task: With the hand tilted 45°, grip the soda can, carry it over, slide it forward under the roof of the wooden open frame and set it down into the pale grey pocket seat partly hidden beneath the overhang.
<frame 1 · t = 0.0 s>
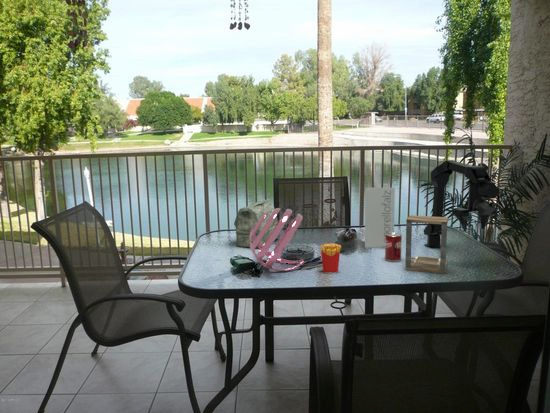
hand: (473, 230, 199), 15 cm above the table, tool pointing down, fingers open, 9 cm apart
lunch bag: (257, 242, 247), on the table
white box: (379, 246, 231), on the table
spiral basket: (277, 267, 204), on the table
wooden open frame: (427, 264, 200), on the table
french fries: (331, 271, 196), on the table
soda can: (393, 260, 209), on the table
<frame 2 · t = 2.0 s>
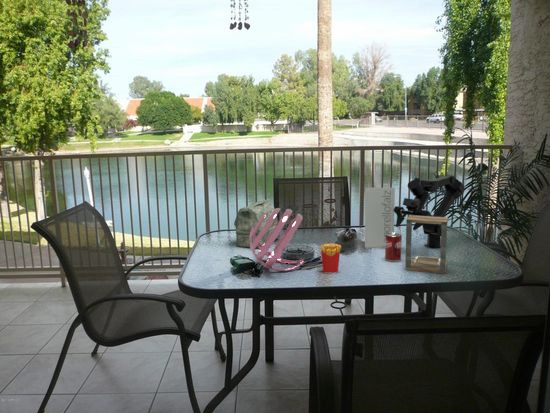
hand: (404, 228, 211), 13 cm above the table, tool tilted 45°, fingers open, 9 cm apart
nothing on the table moved.
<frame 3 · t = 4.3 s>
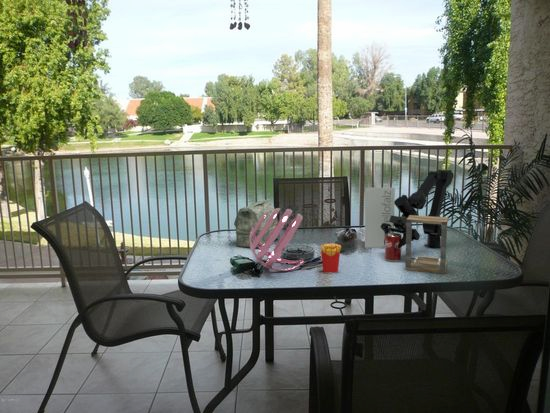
hand: (391, 246, 207), 7 cm above the table, tool tilted 45°, fingers closed on soda can, 7 cm apart
soda can: (393, 259, 209), on the table, touching gripper
everything else where it was.
when the fingers open (9 cm above the table, at t = 10.4 s): soda can drops 1 cm, resting on wooden open frame.
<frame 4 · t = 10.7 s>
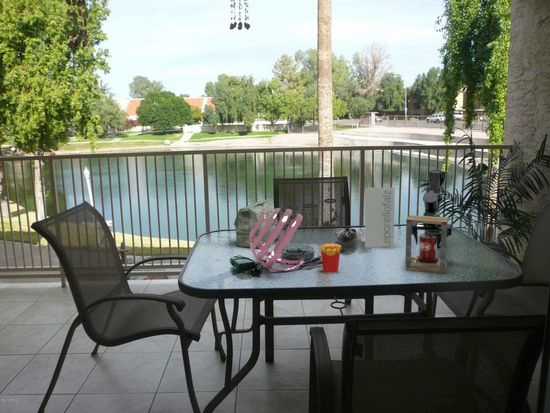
hand: (427, 245, 198), 9 cm above the table, tool tilted 45°, fingers open, 9 cm apart
soda can: (427, 262, 200), point 1 cm above the table, touching wooden open frame
everything else where it was.
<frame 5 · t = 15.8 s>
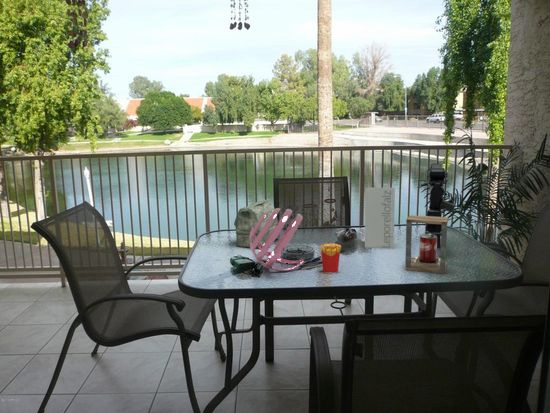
hand: (435, 227, 213), 13 cm above the table, tool pointing down, fingers open, 9 cm apart
nothing on the table moved.
at the end: soda can 0.2 cm off-centre on the wooden open frame, point 0.8 cm above the wooden open frame's base; soda can tilted 0°; the gripper is holding nothing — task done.
